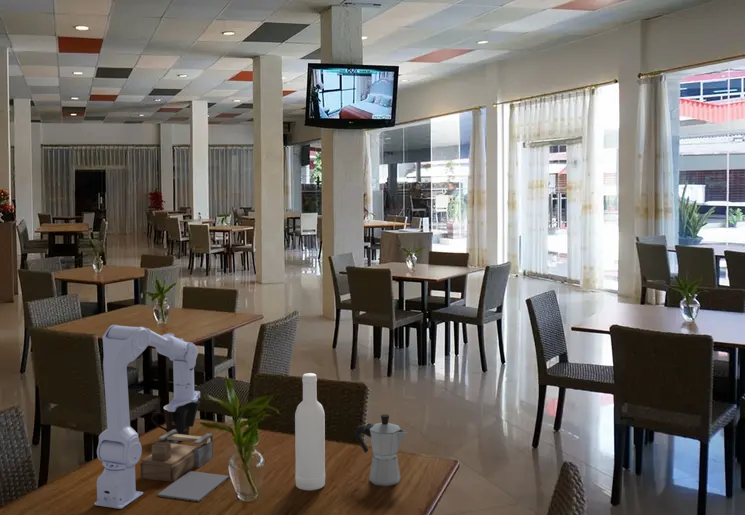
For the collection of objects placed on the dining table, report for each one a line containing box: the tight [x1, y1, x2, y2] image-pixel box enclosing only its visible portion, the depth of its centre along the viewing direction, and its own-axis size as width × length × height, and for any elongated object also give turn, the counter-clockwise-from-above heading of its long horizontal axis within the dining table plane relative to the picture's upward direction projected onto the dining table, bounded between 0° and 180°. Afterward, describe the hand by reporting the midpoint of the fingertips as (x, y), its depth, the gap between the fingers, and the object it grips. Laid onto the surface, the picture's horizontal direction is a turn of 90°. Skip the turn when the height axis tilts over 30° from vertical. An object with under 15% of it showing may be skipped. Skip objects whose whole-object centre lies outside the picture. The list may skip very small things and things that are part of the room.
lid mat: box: [157, 470, 230, 503], centre depth 192 cm, size 16×12×1 cm
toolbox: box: [140, 429, 214, 483], centre depth 206 cm, size 19×13×7 cm
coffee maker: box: [354, 413, 409, 487], centre depth 197 cm, size 15×9×18 cm, turn 74°
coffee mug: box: [150, 404, 191, 435], centre depth 230 cm, size 12×9×10 cm
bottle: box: [294, 372, 326, 491], centre depth 192 cm, size 8×8×30 cm
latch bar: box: [166, 434, 210, 444], centre depth 212 cm, size 2×13×1 cm, turn 73°
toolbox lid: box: [141, 441, 199, 467], centre depth 203 cm, size 14×9×5 cm
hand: (185, 428), depth 210 cm, fingers open, 4 cm apart
